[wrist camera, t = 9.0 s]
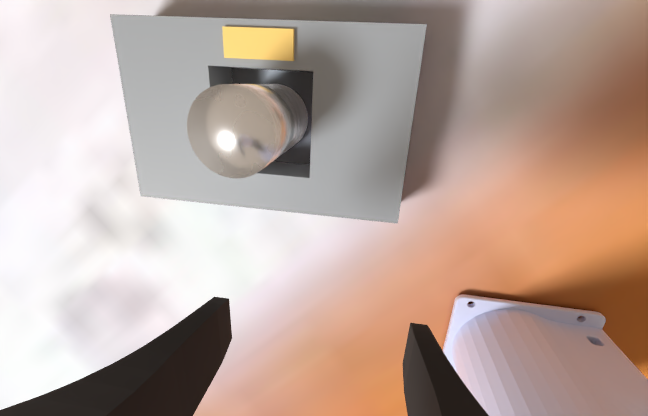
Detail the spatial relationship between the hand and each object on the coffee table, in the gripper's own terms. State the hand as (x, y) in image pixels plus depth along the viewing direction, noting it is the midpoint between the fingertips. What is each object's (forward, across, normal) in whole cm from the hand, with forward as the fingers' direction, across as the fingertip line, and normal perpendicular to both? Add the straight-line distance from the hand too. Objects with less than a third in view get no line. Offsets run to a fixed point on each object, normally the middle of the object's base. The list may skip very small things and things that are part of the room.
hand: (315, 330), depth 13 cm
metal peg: (+11, +4, -7) cm, 13 cm away
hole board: (+10, +4, -7) cm, 13 cm away
